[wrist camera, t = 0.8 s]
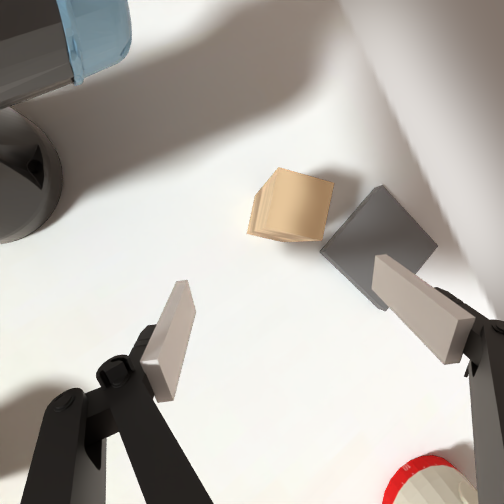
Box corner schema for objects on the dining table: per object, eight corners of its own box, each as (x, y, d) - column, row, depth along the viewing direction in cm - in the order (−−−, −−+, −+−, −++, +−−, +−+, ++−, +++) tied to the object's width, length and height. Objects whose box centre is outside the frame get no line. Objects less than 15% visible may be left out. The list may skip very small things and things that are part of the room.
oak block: (246, 233, 30) (265, 227, 19) (255, 195, 30) (278, 167, 19) (283, 242, 31) (321, 240, 20) (291, 205, 31) (334, 182, 20)
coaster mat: (319, 251, 31) (324, 252, 30) (374, 187, 32) (382, 185, 31) (377, 308, 33) (385, 311, 32) (428, 245, 34) (438, 245, 33)
